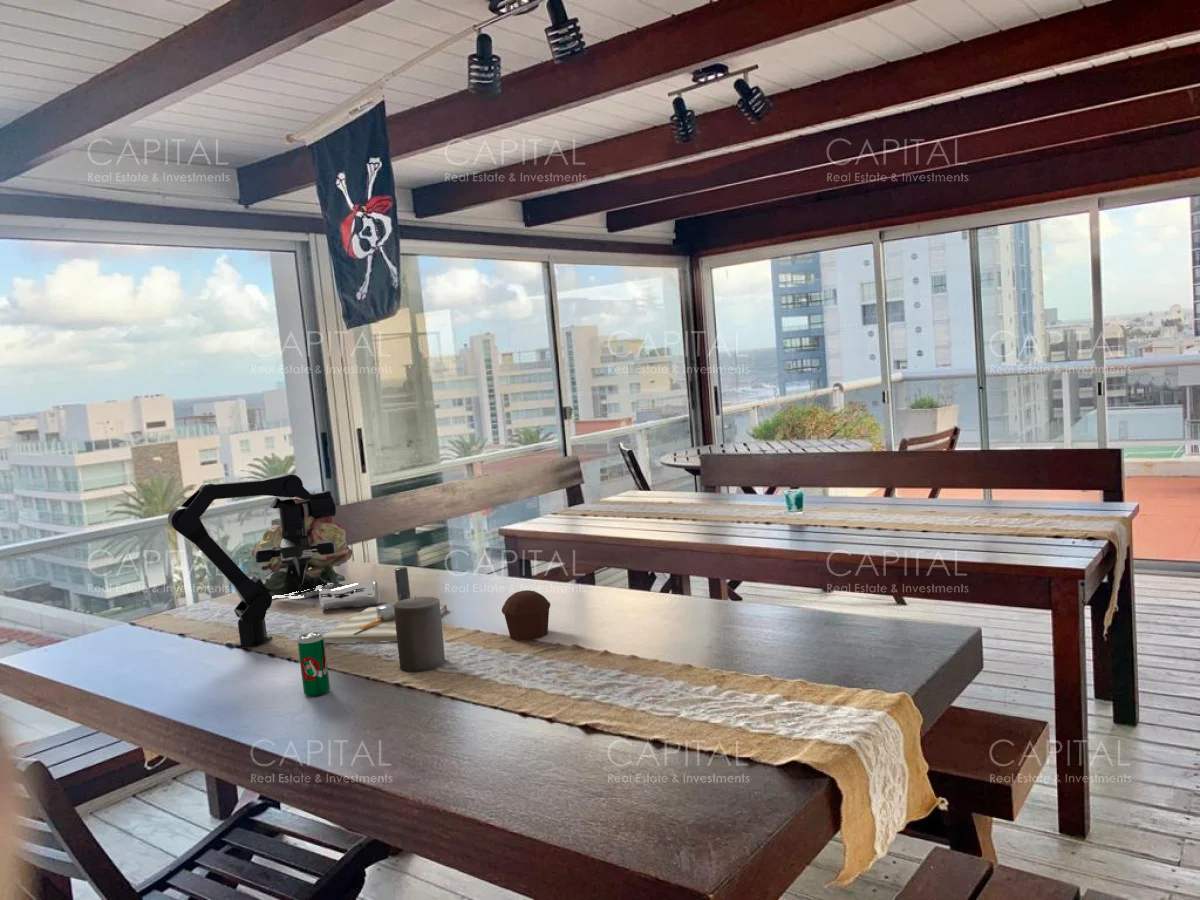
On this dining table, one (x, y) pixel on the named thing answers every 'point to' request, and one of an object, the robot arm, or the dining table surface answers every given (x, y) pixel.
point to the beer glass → (350, 595)
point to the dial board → (374, 633)
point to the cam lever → (403, 593)
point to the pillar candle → (419, 634)
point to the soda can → (313, 664)
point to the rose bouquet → (319, 564)
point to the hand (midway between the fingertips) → (300, 584)
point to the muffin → (526, 615)
